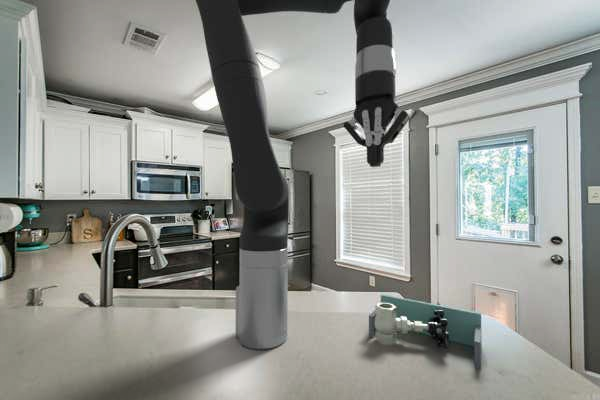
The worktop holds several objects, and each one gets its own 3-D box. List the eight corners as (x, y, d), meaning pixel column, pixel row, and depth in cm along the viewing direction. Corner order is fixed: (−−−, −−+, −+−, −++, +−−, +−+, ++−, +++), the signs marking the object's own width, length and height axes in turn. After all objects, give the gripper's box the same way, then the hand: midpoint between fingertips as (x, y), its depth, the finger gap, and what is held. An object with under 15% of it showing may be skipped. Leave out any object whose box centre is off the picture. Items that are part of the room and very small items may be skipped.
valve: (375, 348, 48) (449, 357, 45) (375, 311, 48) (448, 317, 45) (373, 332, 54) (438, 338, 52) (373, 299, 54) (438, 303, 52)
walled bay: (368, 336, 52) (368, 305, 52) (382, 321, 59) (381, 294, 59) (480, 368, 42) (480, 329, 42) (481, 346, 48) (481, 312, 48)
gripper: (335, 79, 53) (335, 166, 53) (405, 58, 45) (406, 160, 45) (351, 92, 59) (351, 171, 59) (415, 76, 52) (416, 165, 51)
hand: (375, 166), depth 52 cm, fingers closed
